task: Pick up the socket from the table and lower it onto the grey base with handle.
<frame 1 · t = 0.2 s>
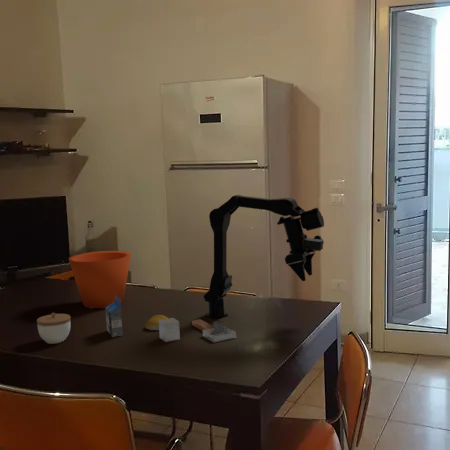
hand: (307, 278, 200), 15 cm above the table, tool pointing down, fingers open, 9 cm apart
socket: (169, 338, 190), on the table
bread roll: (158, 327, 204), on the table
lidded jar: (55, 341, 193), on the table
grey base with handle: (219, 337, 190), on the table
grey and blue box: (114, 333, 199), on the table
flowerpot: (103, 303, 241), on the table
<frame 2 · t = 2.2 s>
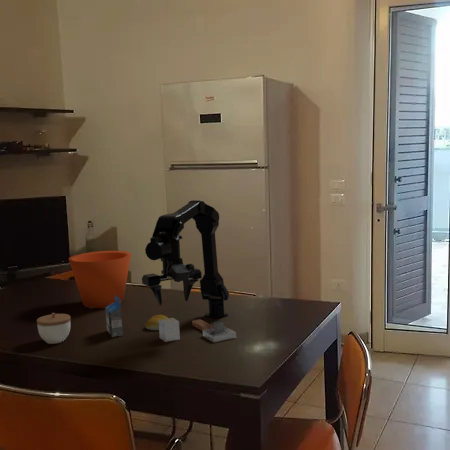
hand: (173, 303, 187), 12 cm above the table, tool pointing down, fingers open, 9 cm apart
nothing on the table moved.
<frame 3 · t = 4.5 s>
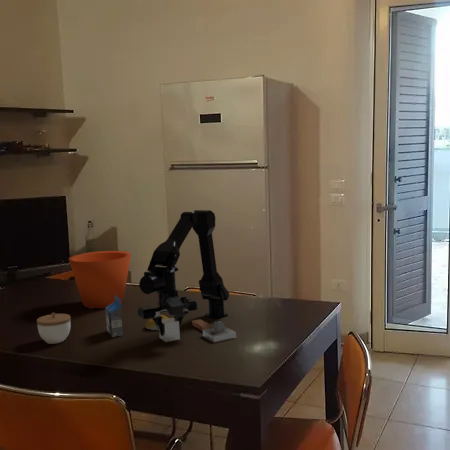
hand: (169, 334, 190), 2 cm above the table, tool pointing down, fingers closed on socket, 5 cm apart
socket: (169, 338, 190), on the table, touching gripper
everything else where it was.
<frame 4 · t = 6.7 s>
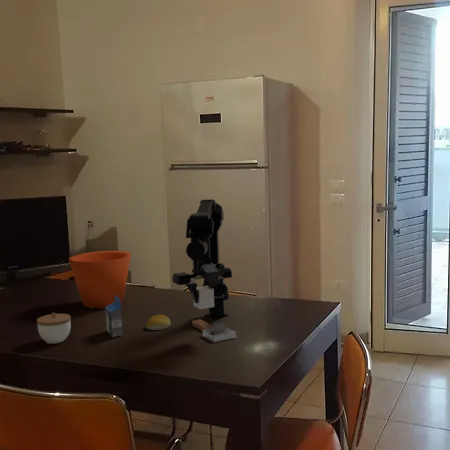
hand: (203, 301, 188), 12 cm above the table, tool pointing down, fingers closed on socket, 5 cm apart
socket: (204, 306, 188), point 10 cm above the table, touching gripper
everything else where it was.
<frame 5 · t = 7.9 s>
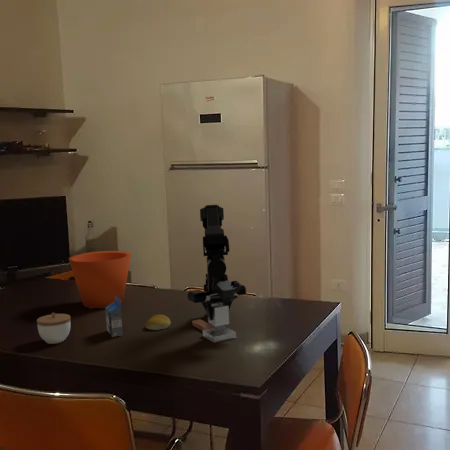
hand: (218, 318, 189), 6 cm above the table, tool pointing down, fingers closed on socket, 5 cm apart
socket: (218, 323, 189), point 5 cm above the table, touching gripper
everything else where it was.
when the fingers open (5 cm above the table, at t = 8.8 s): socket drops 2 cm, resting on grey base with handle.
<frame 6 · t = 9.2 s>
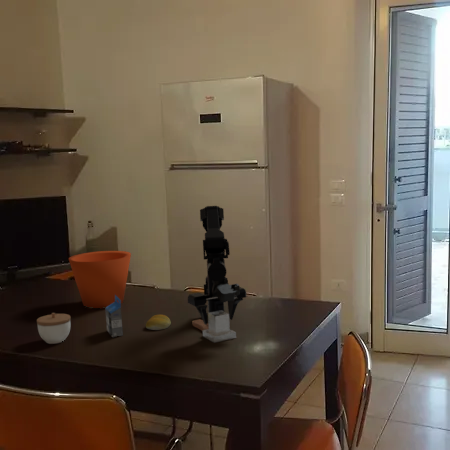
hand: (218, 321, 189), 5 cm above the table, tool pointing down, fingers open, 9 cm apart
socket: (219, 331, 189), point 2 cm above the table, touching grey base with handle
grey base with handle: (219, 337, 190), on the table, touching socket
everything else where it was.
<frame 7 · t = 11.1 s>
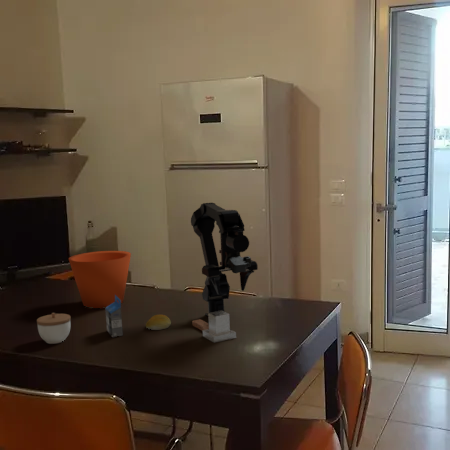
hand: (230, 292, 200), 12 cm above the table, tool pointing down, fingers open, 9 cm apart
nothing on the table moved.
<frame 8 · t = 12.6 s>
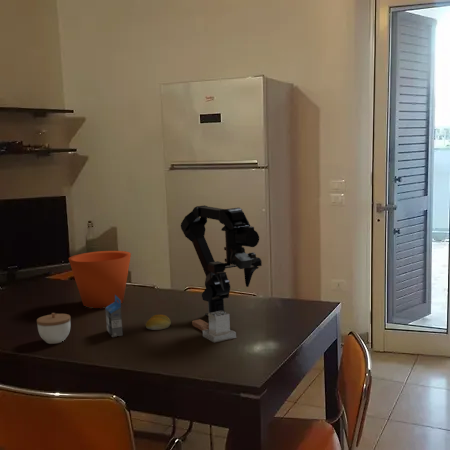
hand: (235, 288, 204), 12 cm above the table, tool pointing down, fingers open, 9 cm apart
nothing on the table moved.
at the end: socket 0.3 cm off-centre on the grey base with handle, point 2.0 cm above the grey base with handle's base; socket tilted 1°; the gripper is holding nothing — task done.
